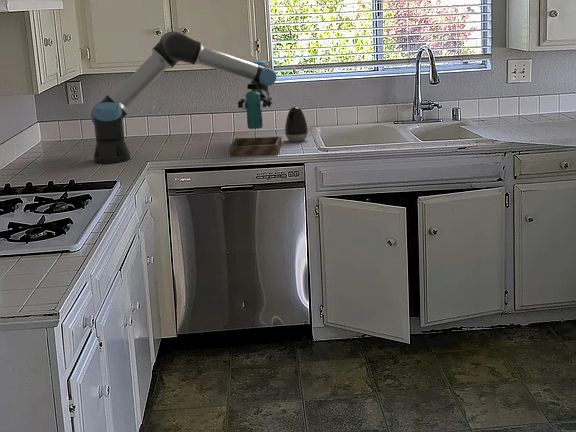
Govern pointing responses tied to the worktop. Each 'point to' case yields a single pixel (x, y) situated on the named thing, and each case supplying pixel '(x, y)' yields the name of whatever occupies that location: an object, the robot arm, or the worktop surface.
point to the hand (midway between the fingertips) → (252, 106)
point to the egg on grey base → (296, 125)
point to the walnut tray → (255, 146)
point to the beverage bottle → (253, 108)
